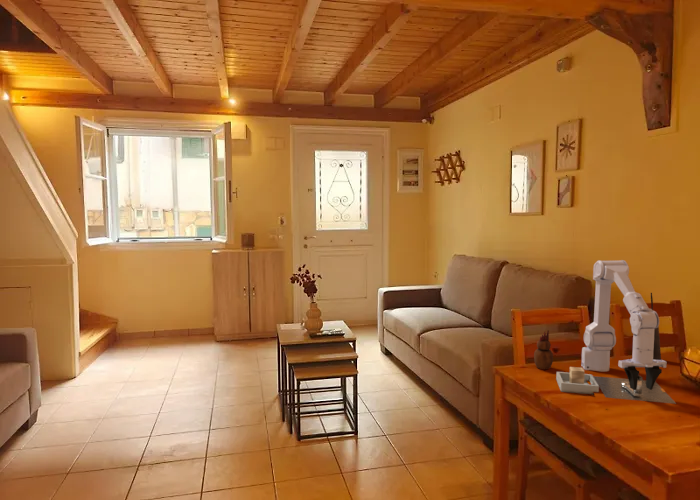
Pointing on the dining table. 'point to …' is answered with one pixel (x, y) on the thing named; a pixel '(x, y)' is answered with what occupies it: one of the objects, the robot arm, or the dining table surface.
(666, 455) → the dining table surface
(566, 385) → the tray
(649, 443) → the dining table surface
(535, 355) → the wooden figurine
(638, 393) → the crank
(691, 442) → the dining table surface
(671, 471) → the dining table surface
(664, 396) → the base plate
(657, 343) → the butter churn
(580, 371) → the block
